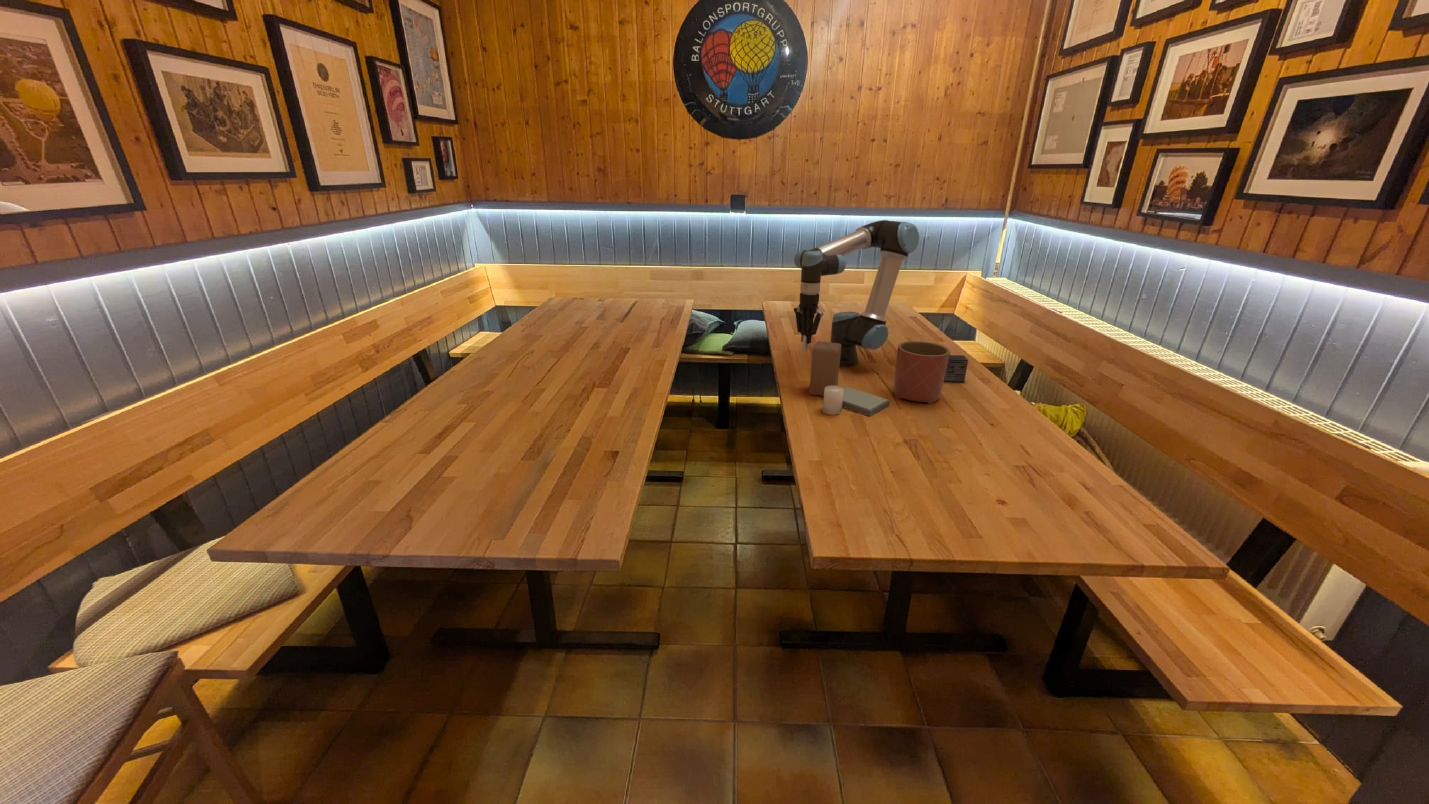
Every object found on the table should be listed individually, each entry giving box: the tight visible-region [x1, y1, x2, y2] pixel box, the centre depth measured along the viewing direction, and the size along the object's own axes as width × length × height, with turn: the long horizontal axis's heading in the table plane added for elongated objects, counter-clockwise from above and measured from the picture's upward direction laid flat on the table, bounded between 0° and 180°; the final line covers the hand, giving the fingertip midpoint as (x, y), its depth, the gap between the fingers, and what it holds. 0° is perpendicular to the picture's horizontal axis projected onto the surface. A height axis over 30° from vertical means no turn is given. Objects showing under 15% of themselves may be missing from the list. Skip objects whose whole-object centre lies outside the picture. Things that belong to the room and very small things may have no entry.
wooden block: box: [808, 340, 841, 397], centre depth 221 cm, size 10×10×20 cm
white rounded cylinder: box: [822, 385, 845, 415], centre depth 206 cm, size 7×7×9 cm
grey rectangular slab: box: [842, 386, 891, 417], centre depth 214 cm, size 19×14×2 cm
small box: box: [943, 354, 969, 384], centre depth 236 cm, size 11×6×10 cm, turn 84°
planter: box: [892, 340, 951, 405], centre depth 218 cm, size 19×19×20 cm
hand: (805, 350), depth 225 cm, fingers closed
